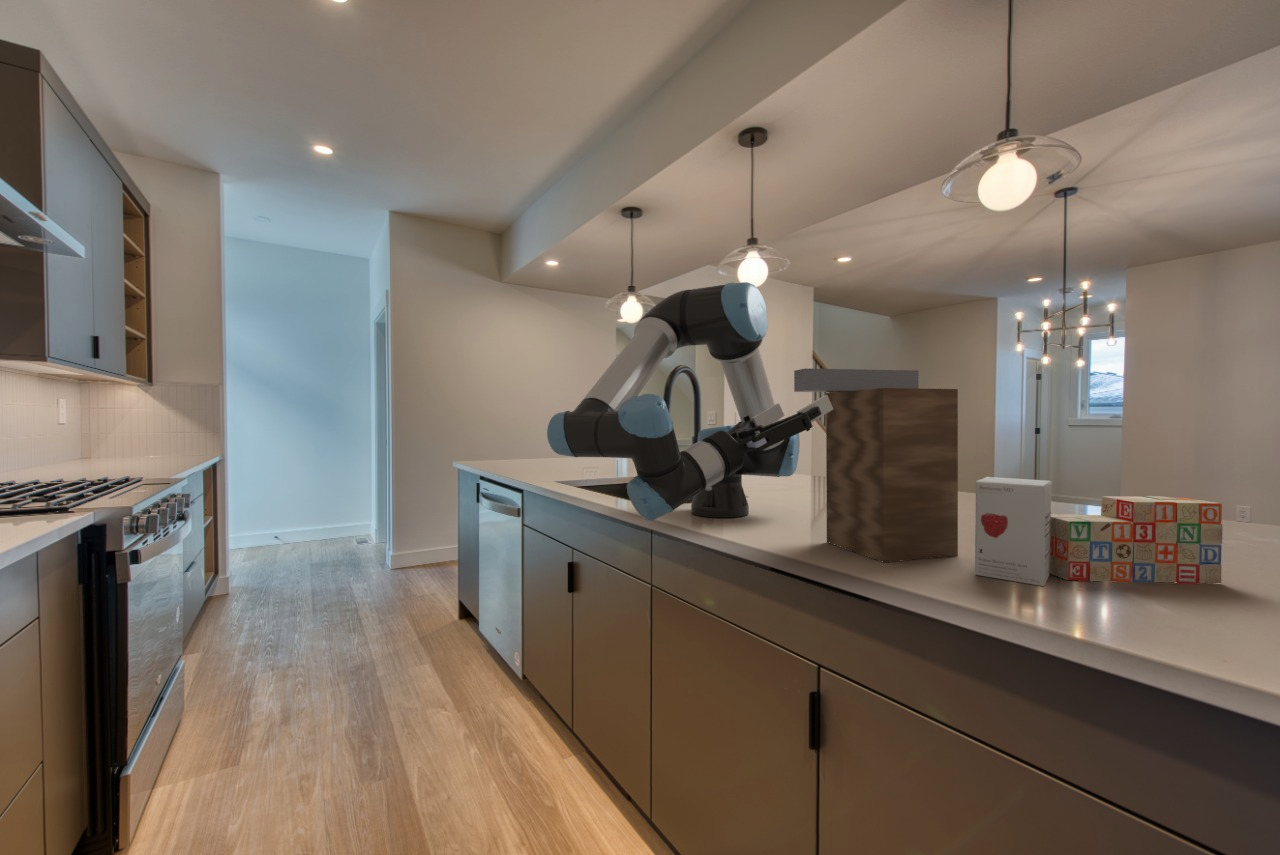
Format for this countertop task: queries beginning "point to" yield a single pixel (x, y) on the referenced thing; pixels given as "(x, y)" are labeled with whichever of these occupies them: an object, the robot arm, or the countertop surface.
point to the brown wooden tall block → (893, 472)
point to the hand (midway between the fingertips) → (803, 406)
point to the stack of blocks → (1140, 541)
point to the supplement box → (1013, 529)
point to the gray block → (852, 379)
